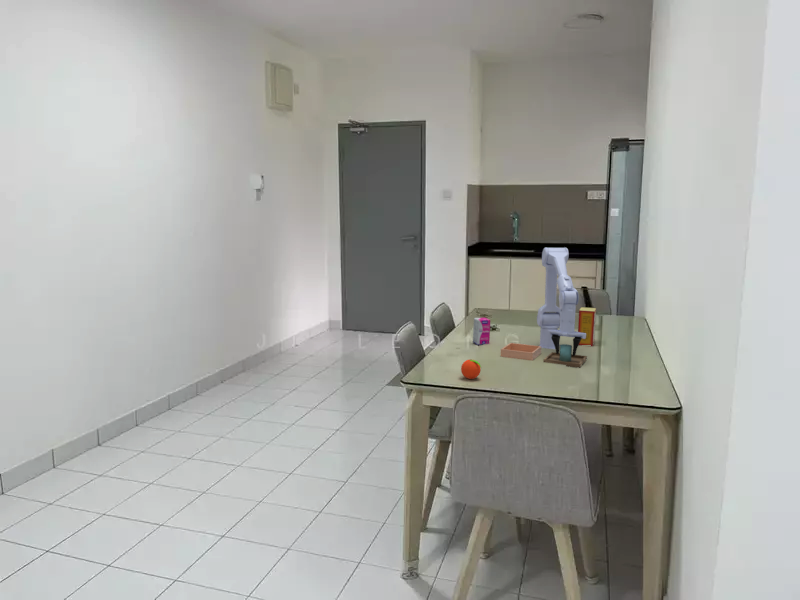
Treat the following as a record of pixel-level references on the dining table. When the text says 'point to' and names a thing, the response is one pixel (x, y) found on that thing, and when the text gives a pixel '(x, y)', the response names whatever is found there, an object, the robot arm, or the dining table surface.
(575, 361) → the tray
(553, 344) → the robot arm
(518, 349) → the pink storage bin
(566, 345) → the teal cylinder
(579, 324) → the baking soda box
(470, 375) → the clementine
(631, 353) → the dining table surface
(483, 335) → the supplement box
